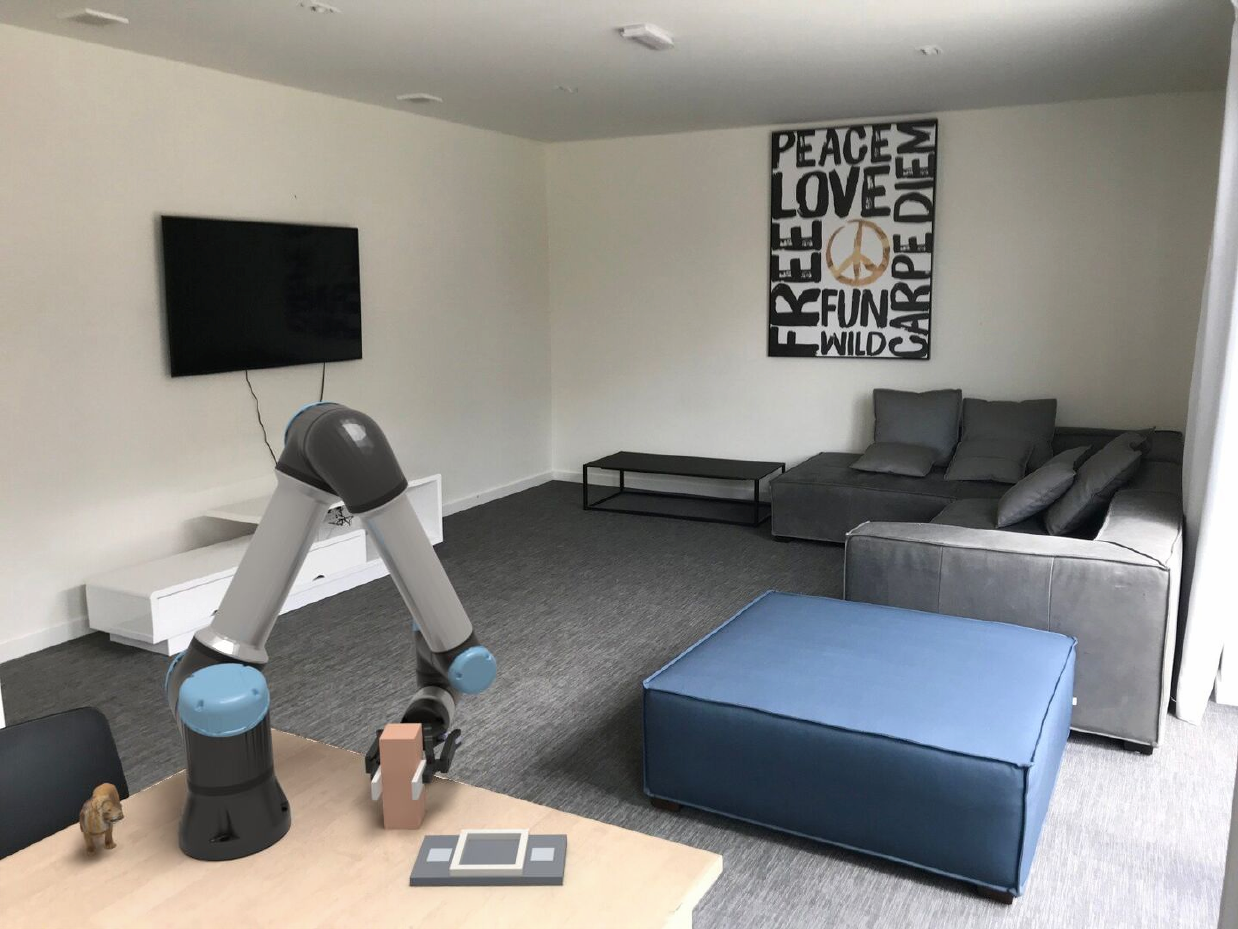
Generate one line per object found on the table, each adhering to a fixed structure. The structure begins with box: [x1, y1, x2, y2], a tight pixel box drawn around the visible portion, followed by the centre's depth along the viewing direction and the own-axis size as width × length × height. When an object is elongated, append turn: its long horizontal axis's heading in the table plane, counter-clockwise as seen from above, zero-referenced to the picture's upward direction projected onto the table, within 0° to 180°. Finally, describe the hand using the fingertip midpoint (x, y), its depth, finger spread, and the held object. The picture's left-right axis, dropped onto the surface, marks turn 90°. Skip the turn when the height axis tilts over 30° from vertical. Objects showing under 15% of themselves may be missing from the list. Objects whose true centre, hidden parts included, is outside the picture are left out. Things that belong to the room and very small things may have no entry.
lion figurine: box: [78, 782, 125, 856], centre depth 140 cm, size 15×5×9 cm, turn 27°
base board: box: [409, 828, 568, 887], centre depth 134 cm, size 20×10×2 cm, turn 89°
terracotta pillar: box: [379, 723, 427, 830], centre depth 144 cm, size 5×5×14 cm
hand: (394, 791), depth 138 cm, fingers closed on terracotta pillar, 5 cm apart
